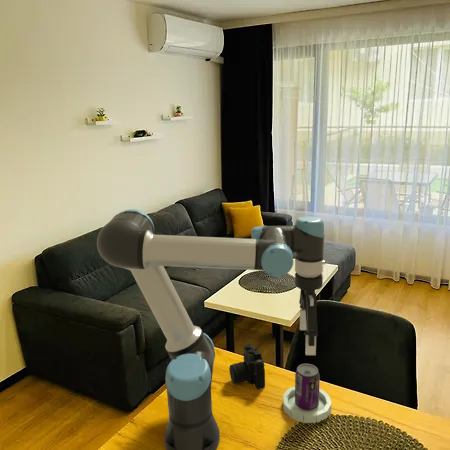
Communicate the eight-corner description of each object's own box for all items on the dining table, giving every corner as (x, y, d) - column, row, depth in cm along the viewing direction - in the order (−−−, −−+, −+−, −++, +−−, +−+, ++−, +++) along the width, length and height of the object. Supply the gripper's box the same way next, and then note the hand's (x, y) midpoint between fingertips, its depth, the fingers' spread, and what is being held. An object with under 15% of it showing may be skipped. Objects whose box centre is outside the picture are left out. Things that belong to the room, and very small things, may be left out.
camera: (225, 369, 151) (224, 344, 149) (254, 364, 154) (254, 339, 151) (236, 394, 138) (235, 366, 136) (268, 388, 141) (267, 361, 138)
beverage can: (318, 413, 127) (319, 378, 124) (294, 410, 128) (294, 375, 125) (318, 398, 134) (319, 363, 130) (295, 395, 135) (295, 361, 132)
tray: (285, 422, 125) (285, 415, 124) (281, 391, 138) (281, 385, 138) (334, 423, 124) (334, 415, 124) (326, 391, 138) (326, 385, 137)
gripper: (330, 291, 108) (328, 366, 113) (315, 257, 132) (314, 320, 137) (300, 291, 108) (298, 366, 114) (290, 257, 132) (290, 320, 138)
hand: (307, 341), depth 125 cm, fingers open, 13 cm apart
